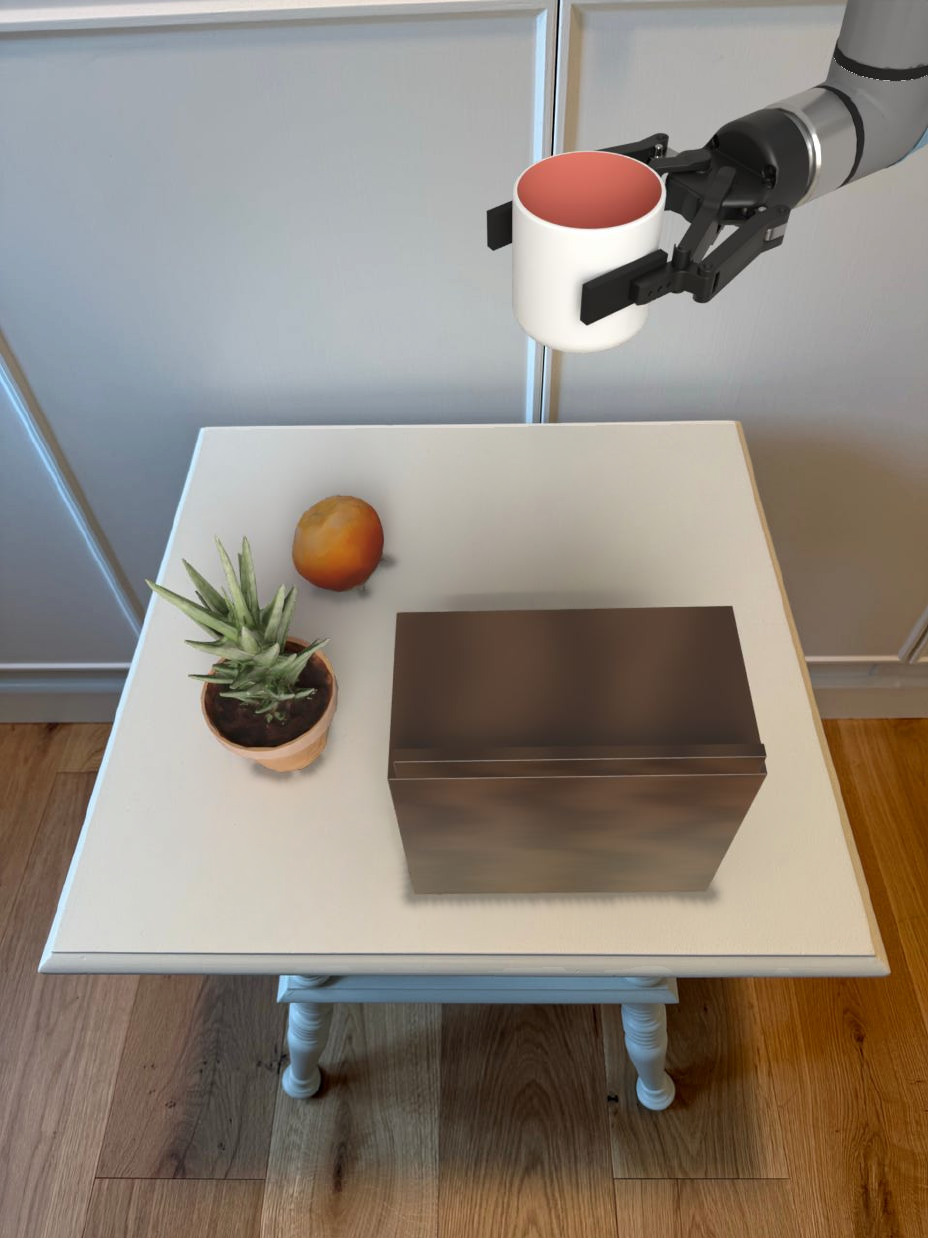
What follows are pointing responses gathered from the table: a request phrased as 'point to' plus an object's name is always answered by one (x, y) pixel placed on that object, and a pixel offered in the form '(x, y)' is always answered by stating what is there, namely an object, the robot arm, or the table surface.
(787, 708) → the table surface
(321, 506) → the fruit
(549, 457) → the table surface
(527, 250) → the cup
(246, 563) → the potted plant
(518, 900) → the table surface
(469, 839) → the brown lidded box
